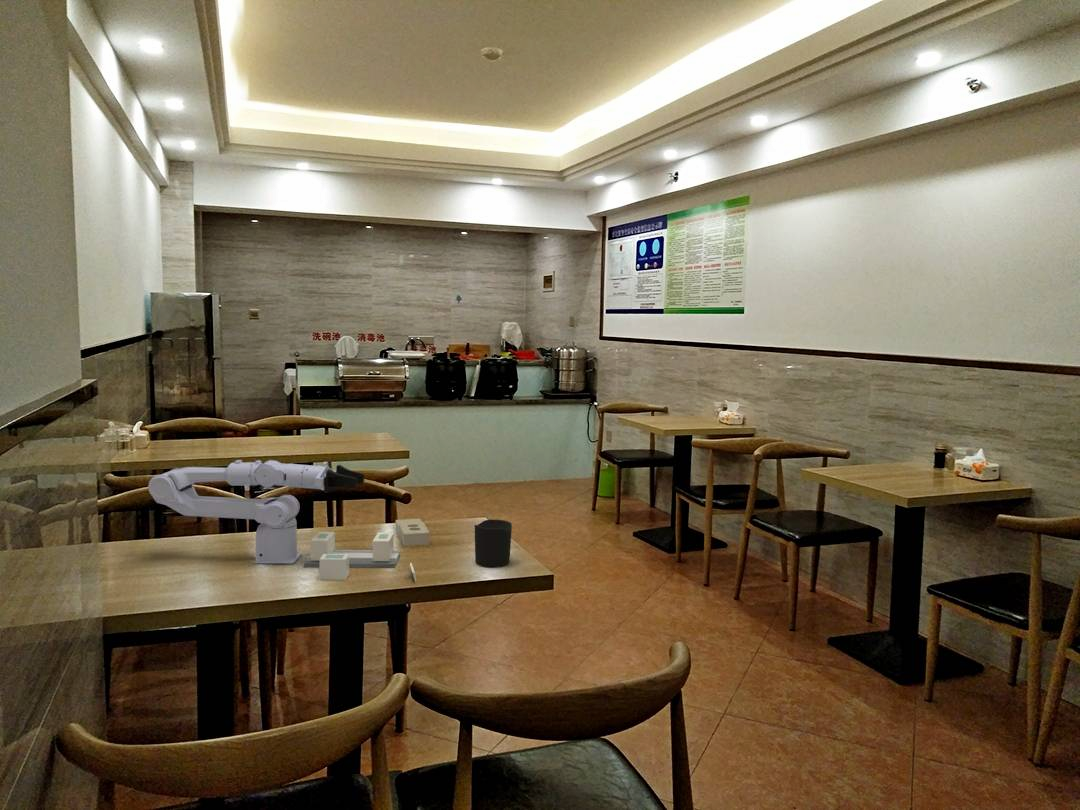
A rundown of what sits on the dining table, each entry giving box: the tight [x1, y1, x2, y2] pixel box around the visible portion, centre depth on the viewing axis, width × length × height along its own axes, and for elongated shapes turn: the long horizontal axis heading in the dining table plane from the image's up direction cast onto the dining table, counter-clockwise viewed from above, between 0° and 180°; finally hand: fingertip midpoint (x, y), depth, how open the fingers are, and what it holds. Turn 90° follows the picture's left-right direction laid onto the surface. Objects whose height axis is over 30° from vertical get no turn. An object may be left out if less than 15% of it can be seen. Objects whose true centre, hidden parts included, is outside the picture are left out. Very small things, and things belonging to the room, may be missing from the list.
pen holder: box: [474, 519, 513, 568], centre depth 189 cm, size 9×9×10 cm
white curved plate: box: [405, 562, 417, 583], centre depth 177 cm, size 4×8×3 cm, turn 15°
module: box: [319, 554, 350, 581], centre depth 176 cm, size 6×4×5 cm, turn 93°
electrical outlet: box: [395, 518, 431, 547], centre depth 211 cm, size 7×4×18 cm
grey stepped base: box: [303, 531, 401, 569], centre depth 188 cm, size 22×10×7 cm, turn 93°
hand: (360, 480), depth 186 cm, fingers open, 7 cm apart
